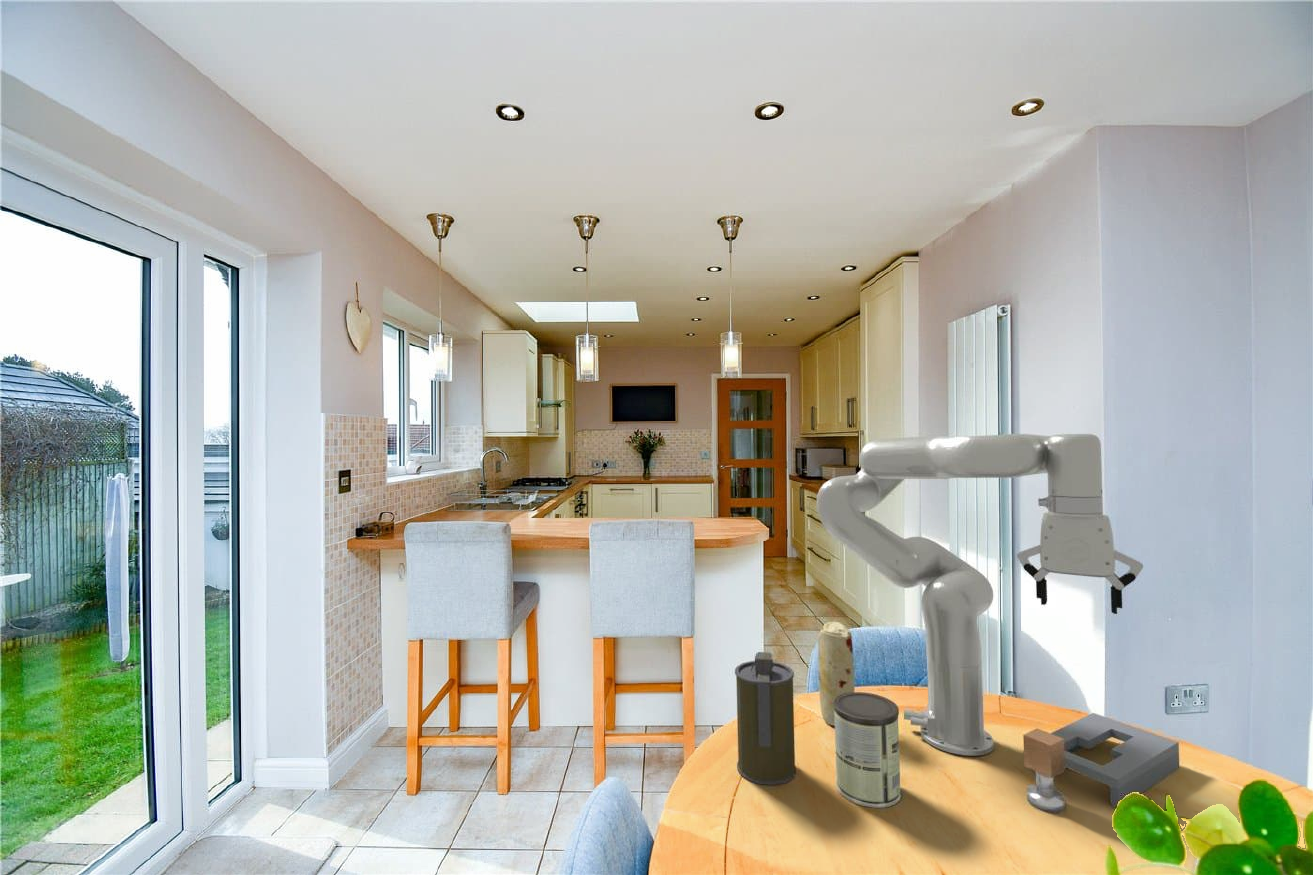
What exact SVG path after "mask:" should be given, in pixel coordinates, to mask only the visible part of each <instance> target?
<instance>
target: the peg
mask: <svg viewBox="0 0 1313 875" xmlns="http://www.w3.org/2000/svg"><path fill="white" fill-rule="evenodd" d="M1050 733H1051V732H1048V731H1045V730H1042V729H1040V728H1034V729H1032V730H1031V731H1029V732H1026V733H1024V734H1023V767H1024V768H1027V769H1030V770H1031V771H1034V772H1035V784H1030V785H1028V786H1027V787H1026V801H1027V802H1028V803H1029V804H1030V806H1033V807H1034V808H1035V809H1036V810H1039V811H1042V812H1045V813H1051V814H1062V813H1064V812H1065V811H1066V804H1065V802H1066V801H1065V799H1066V798H1065V797H1064V795H1063V794H1062V792H1060V791H1058V790H1056V789H1055V777H1057V776H1058V775H1060V774H1063V773H1064V772H1066V767H1065V753H1064V739H1063V738H1060V737H1058V736H1055V735H1053V734H1050Z"/></svg>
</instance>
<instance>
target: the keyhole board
mask: <svg viewBox="0 0 1313 875" xmlns="http://www.w3.org/2000/svg"><path fill="white" fill-rule="evenodd" d="M1049 733H1050V734H1053V735H1055V736H1058V737H1060V738H1063V739H1064V753H1065V768H1067V769H1068V770H1069V769H1070V770H1071V771H1074V772H1076V773H1078V774H1081V775H1083V776H1085V777H1087V778H1090V779H1092V780H1095V781H1098V782H1099V783H1103V784H1104V785H1107V786H1109V787H1110V789H1109V790H1110V807H1111V806H1112V807H1114V808H1116V807H1117V804H1118V802H1119V801H1120V800H1122V799H1123V798H1124V797H1125V796H1126V795H1128V794H1130V793H1132V792H1139V793H1141V794H1143V793H1144V792H1146V791H1147V790H1149V789H1150V788H1152V787H1153V786H1155V785H1156V784H1158V783H1159V782H1161V781H1162V780H1164V779H1166V777H1168V776H1170V775H1171V774H1173V773H1175V772H1176V771H1177V770H1179V769H1180V744H1179V741H1178V740H1174V739H1171V738H1168V737H1166V736H1162V735H1160V734H1156V733H1154V732H1150V731H1149V730H1145V729H1142V728H1138V727H1136V726H1133V725H1131V724H1126V723H1124V722H1121V721H1119V720H1115V719H1112V718H1109V717H1106V716H1104V715H1102V714H1101V715H1100V714H1098V713H1095V712H1092V713H1090V714H1088V715H1086V716H1084V717H1081V718H1080V719H1077V720H1075V721H1073V722H1071V723H1069V724H1067V725H1065V726H1063V727H1060V728H1058V729H1056V730H1054V731H1053V732H1049ZM1111 738H1113V739H1115V740H1119V741H1122V742H1121V743H1120V744H1118V745H1116V746H1115V747H1113V748H1111V749H1110V750H1111V752H1110V754H1111V756H1110V757H1111V759H1112V760H1111V761H1110V762H1107V763H1106V764H1105V765H1102V764H1099V763H1096V762H1095V761H1092V760H1090V759H1087V758H1084V757H1082V756H1079V755H1076V754H1075V752H1077V751H1079V750H1081V749H1083V748H1085V749H1087V750H1091V749H1092V748H1094V747H1096V746H1098V745H1099V744H1101V743H1103V742H1105V741H1107V740H1109V739H1111Z"/></svg>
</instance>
